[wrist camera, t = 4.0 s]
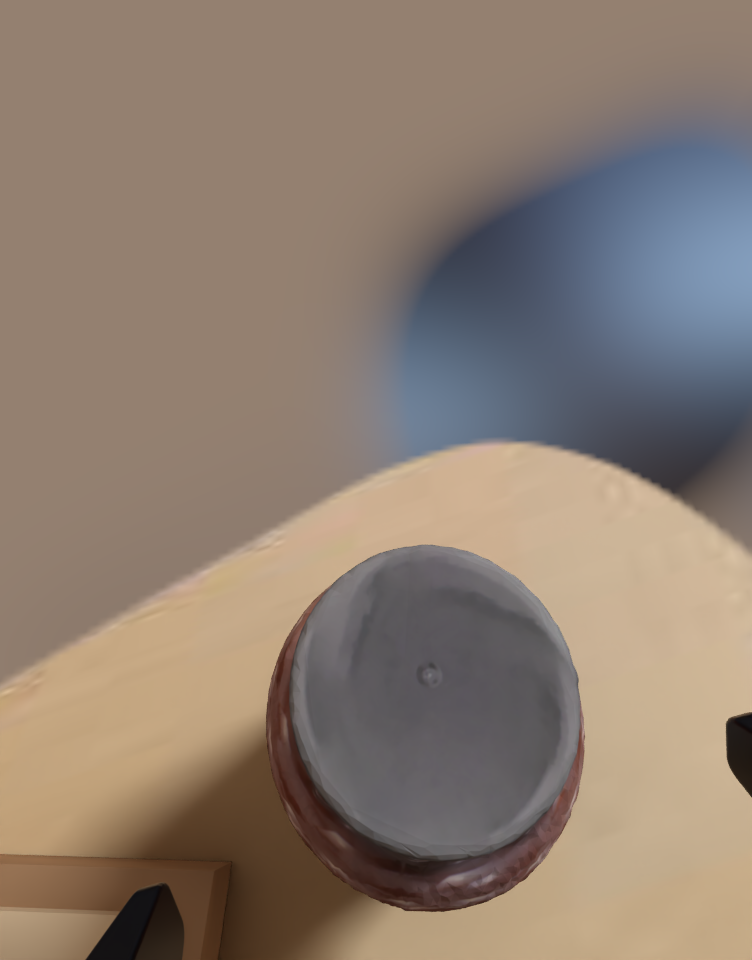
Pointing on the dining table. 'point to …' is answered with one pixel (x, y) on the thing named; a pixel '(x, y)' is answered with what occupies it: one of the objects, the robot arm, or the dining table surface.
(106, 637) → the dining table surface
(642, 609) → the dining table surface
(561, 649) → the supplement bottle
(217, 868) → the wooden square coaster
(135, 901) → the robot arm
